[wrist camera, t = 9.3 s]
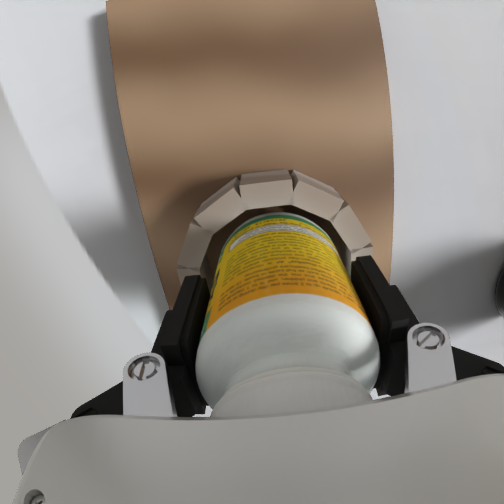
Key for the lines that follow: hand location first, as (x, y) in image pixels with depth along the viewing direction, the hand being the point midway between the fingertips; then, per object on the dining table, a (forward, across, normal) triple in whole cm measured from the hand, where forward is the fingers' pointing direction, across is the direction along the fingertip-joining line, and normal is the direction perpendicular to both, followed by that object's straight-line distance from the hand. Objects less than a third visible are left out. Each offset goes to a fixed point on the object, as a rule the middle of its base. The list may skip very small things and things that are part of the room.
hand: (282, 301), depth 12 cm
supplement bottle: (+3, 0, 0) cm, 3 cm away
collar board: (+5, 0, -4) cm, 7 cm away
